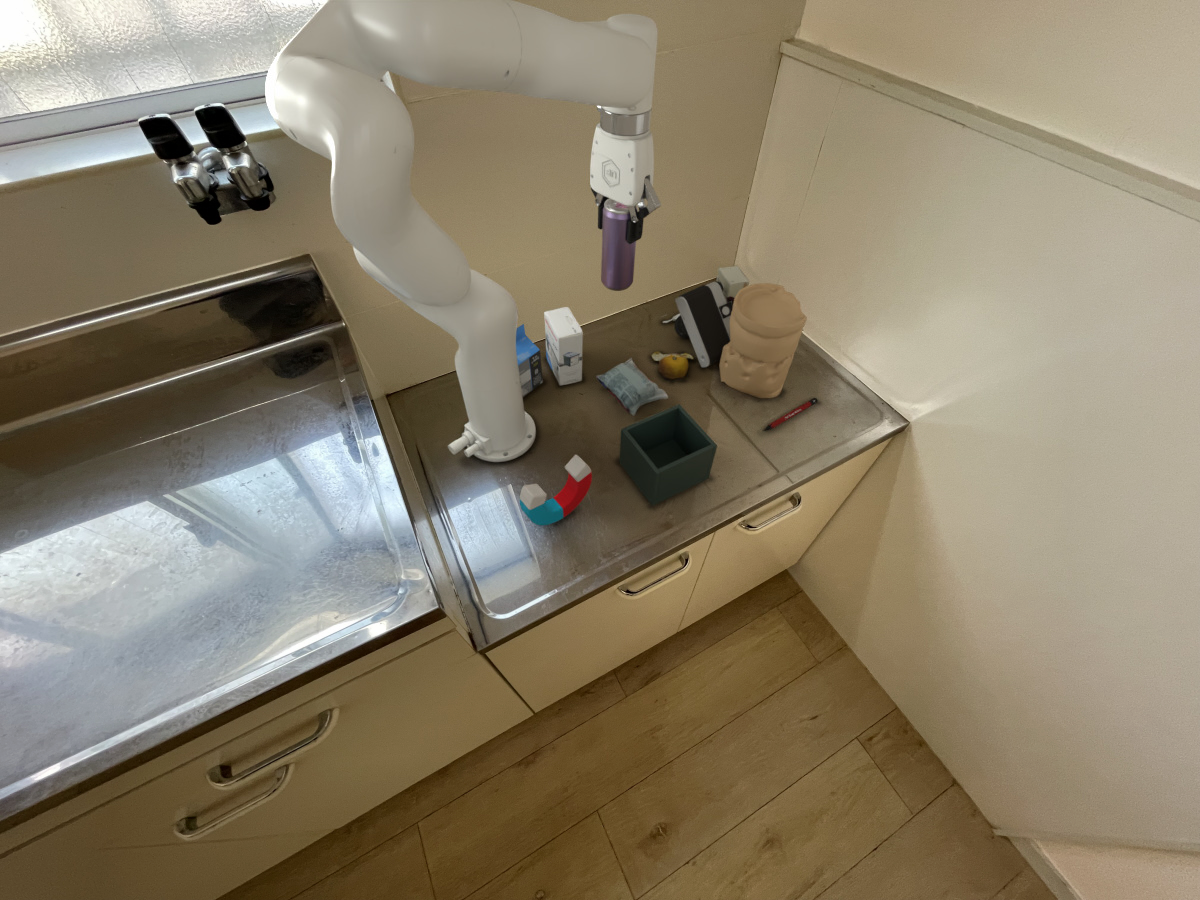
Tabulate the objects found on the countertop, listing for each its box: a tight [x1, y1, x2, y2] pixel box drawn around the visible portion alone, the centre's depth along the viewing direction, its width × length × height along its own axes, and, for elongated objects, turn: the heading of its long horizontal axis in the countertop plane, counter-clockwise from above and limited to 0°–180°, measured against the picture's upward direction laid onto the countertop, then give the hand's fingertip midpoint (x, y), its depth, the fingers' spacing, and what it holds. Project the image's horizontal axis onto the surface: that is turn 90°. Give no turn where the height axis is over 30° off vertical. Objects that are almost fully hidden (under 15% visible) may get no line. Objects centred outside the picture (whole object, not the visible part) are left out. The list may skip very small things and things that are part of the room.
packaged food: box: [595, 357, 669, 417], centre depth 106 cm, size 9×12×5 cm
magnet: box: [519, 454, 593, 527], centre depth 87 cm, size 12×3×10 cm, turn 129°
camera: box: [674, 280, 733, 368], centre depth 114 cm, size 15×11×10 cm
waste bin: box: [618, 403, 718, 507], centre depth 93 cm, size 11×10×9 cm
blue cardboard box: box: [516, 323, 544, 398], centre depth 103 cm, size 9×4×12 cm, turn 140°
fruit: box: [651, 351, 694, 380], centre depth 111 cm, size 8×8×4 cm
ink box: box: [543, 306, 584, 386], centre depth 108 cm, size 9×5×12 cm, turn 22°
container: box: [718, 282, 808, 399], centre depth 103 cm, size 13×13×18 cm
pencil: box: [762, 397, 819, 432], centre depth 104 cm, size 1×14×1 cm, turn 125°
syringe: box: [660, 312, 681, 324], centre depth 123 cm, size 10×2×2 cm
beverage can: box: [600, 198, 639, 292], centre depth 100 cm, size 6×6×15 cm
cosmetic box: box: [715, 265, 750, 303], centre depth 117 cm, size 6×4×12 cm
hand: (619, 232), depth 98 cm, fingers closed on beverage can, 6 cm apart
